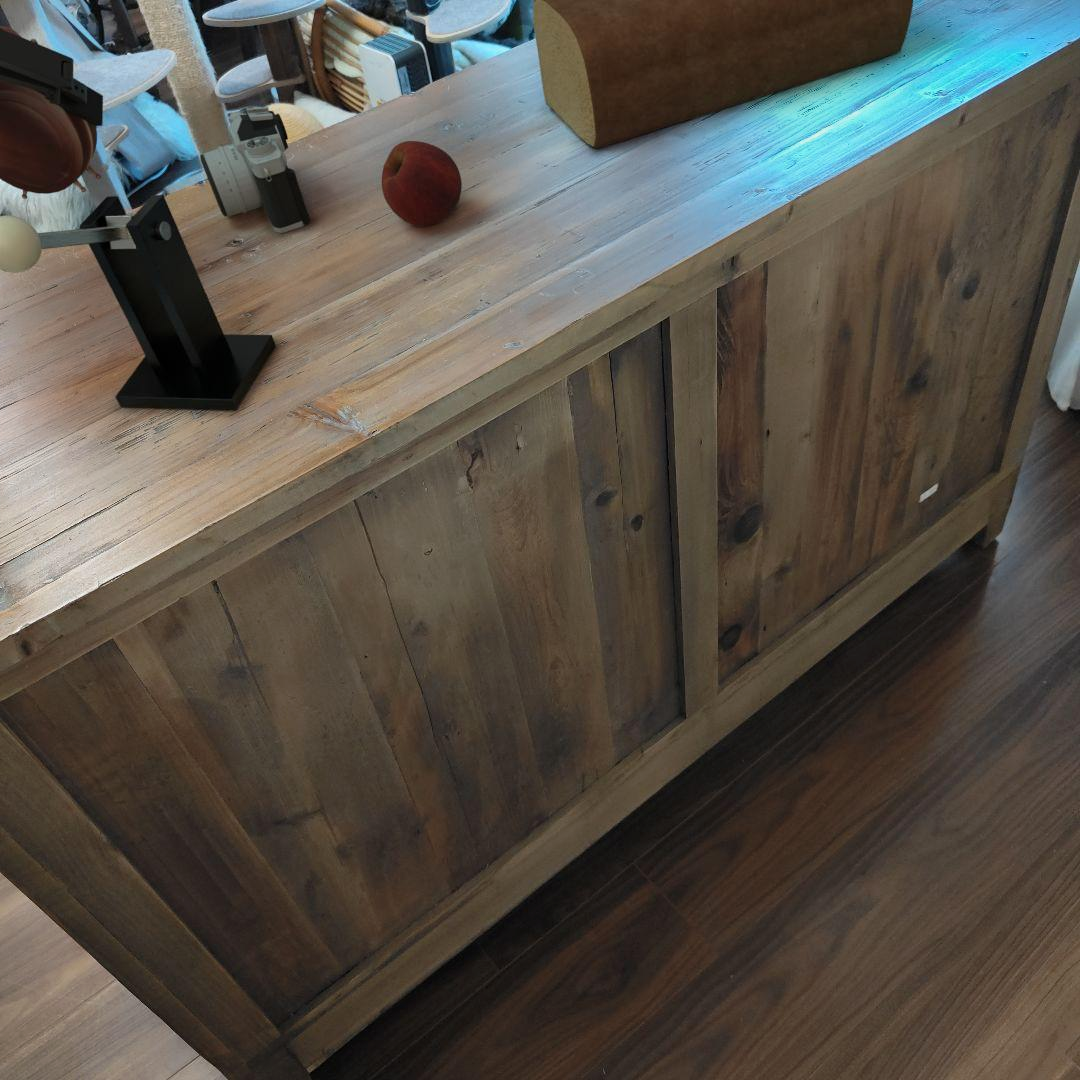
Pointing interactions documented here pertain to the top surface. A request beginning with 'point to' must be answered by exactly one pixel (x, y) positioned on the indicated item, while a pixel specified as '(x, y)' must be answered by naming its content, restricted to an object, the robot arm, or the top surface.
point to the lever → (54, 240)
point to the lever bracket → (173, 318)
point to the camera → (256, 170)
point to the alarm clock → (41, 141)
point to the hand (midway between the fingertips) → (45, 114)
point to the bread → (696, 55)
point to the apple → (421, 183)
